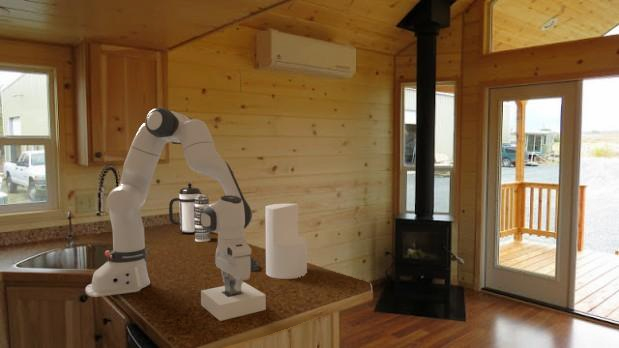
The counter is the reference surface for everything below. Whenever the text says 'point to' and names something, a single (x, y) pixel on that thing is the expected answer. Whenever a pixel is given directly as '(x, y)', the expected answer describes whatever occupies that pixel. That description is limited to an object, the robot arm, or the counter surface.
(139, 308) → the counter surface
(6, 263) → the counter surface
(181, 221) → the coffee press
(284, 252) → the cylinder
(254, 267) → the zipper pull
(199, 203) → the decorative candle
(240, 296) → the well block
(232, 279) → the metal bar
